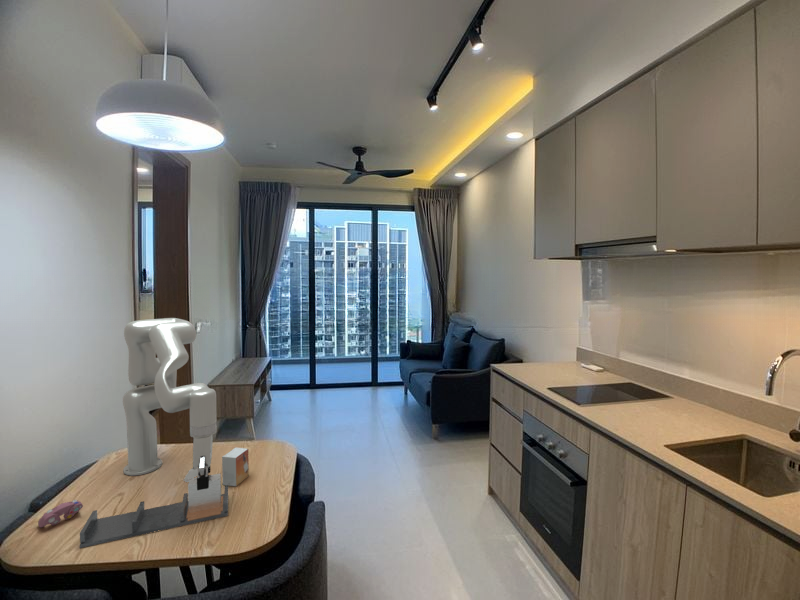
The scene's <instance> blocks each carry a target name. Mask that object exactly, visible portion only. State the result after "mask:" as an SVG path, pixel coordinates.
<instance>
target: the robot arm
mask: <svg viewBox="0 0 800 600" xmlns="http://www.w3.org/2000/svg"><path fill="white" fill-rule="evenodd" d="M123 337H124V341H125V343H126V346H127V348H128V370H127V372H128V373H127V374H128V375H127V377H128V382H129V383H130V384H131V385H132V386H138V387H136V388H132V389H130V390H128V391H126V393H124V395H123V396H122V406H123V409H124V414H125V422H126V423H125V424H126V439H127V440H126V442H127V445H126V446H127V464H126V465H125V466H124V467H123V474H125V475H126V476H131V477H132V476H141V475H145V474H150V473H152V472H154V471H156V470H158V469H159V468H161V466H162V465H163V460H162V459H161V458H160V457H158V436H157V435H158V432H157V431H158V430H157V429H158V428H157V420H156V418H155V417H154V416H153V415H151V413H150V411H154V410H157V409H162V410H163V411H164V412H166V413H169V414H174V413H178V412H181V411H184V410H185V411H186V410H188V409H189V436H190V437H191V438H193V440H192V441H193V442H192V468H193V469H194V470H195V469H197V468H198V476H197V477H196V478H197V490H202V489H208V488H209V474H210V473H211V463H212V459H213V458H212V456H213V438H214V437H213V435H216V433H217V427H218V425H217V421H218V420H217V416H218V415H217V391H216V390H215V389H214V388H210V387H209V386H208V385H207V384H206V383H203V382H195V383H190V384H186V385H181V386H177V377H178V376H177V374H178V373H177V372H178V371H177V370H179V369H181V368H182V367H183V366H185V365H186V364H187V363H188V361H189V359H190V358H189V357H190V356H189V353H188V351H187V349H186V347H185V345H187V344H192V343H193V342H195V341H196V338H197V331H196V327H195V326H194V324H192V323H191V322H190V321H188V320H186V319H182V318H178V317H177V318H176V317H164V318H149V319H139V320H133V321H130V322H127V324H126V325H125V326H124V330H123ZM156 356H157V357H156Z"/></svg>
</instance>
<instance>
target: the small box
mask: <svg viewBox="0 0 800 600" xmlns="http://www.w3.org/2000/svg"><path fill="white" fill-rule="evenodd" d="M249 464H250V463H249V448H245V447H234V448H233V449H231V450H230V451H229V452H227V453H226V454H224V455H222V457H221V465H222V466H221V469H222V477H221V478H222V485H223V486H227V485H228V487H229V486H231V487H237V486H239V485H240V484H241V483H242V482H243V481H244V480H245V479H247V478H248V477H249V475H250V474H249V471H250V468H249Z"/></svg>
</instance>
